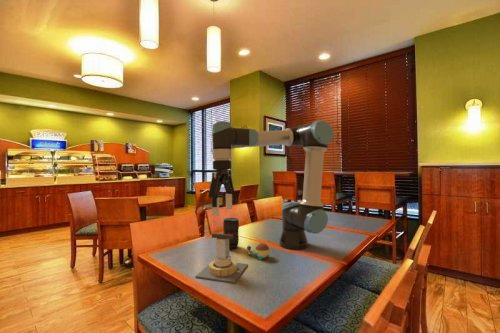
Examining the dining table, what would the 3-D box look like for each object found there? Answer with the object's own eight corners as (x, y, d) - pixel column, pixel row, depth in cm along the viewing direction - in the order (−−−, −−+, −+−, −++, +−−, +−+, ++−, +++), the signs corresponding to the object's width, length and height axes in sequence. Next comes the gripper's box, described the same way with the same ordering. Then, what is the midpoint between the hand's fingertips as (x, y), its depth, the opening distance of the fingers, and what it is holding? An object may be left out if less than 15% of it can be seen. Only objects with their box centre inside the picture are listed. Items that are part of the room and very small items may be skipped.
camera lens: (236, 250, 119) (236, 221, 119) (221, 249, 120) (221, 220, 120) (240, 245, 127) (240, 217, 127) (226, 244, 128) (225, 217, 128)
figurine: (258, 254, 116) (256, 241, 117) (273, 256, 109) (270, 241, 110) (247, 259, 111) (245, 244, 112) (262, 261, 104) (259, 246, 105)
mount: (247, 265, 101) (247, 258, 101) (234, 283, 86) (234, 275, 86) (213, 261, 106) (213, 254, 106) (195, 277, 90) (195, 269, 90)
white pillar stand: (216, 265, 100) (215, 231, 100) (236, 267, 97) (235, 232, 97) (209, 271, 94) (208, 236, 94) (230, 274, 91) (229, 237, 91)
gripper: (225, 160, 109) (226, 206, 109) (198, 159, 85) (199, 218, 85) (240, 160, 106) (241, 207, 106) (217, 159, 83) (218, 219, 83)
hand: (222, 212), depth 96 cm, fingers open, 13 cm apart
